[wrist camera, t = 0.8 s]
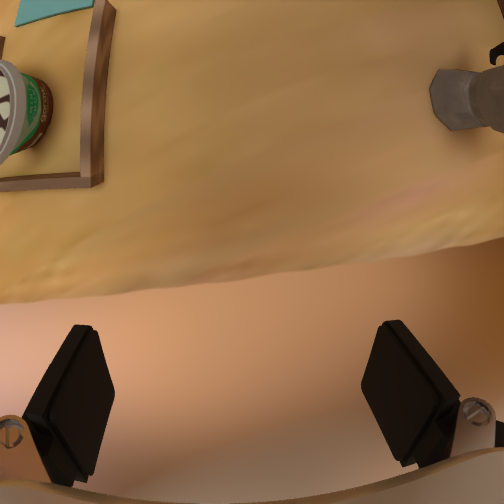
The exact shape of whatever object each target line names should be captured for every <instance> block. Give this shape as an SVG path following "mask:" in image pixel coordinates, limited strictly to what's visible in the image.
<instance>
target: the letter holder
mask: <svg viewBox="0 0 504 504" xmlns="http://www.w3.org/2000/svg"><path fill="white" fill-rule="evenodd" d="M497 1H498V3H499V6H500V9H501V12H502V15H503V18H504V0H497Z"/></svg>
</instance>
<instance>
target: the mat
mask: <svg viewBox="0 0 504 504" xmlns="http://www.w3.org/2000/svg"><path fill="white" fill-rule="evenodd" d="M94 1H95V0H21V2H20V5H19V9H18V13H17V18H16V22H15V27H19V26H22V25H25V24H28V23H31V22H34V21H38V20H41V19H44V18H48V17H52V16H55V15H59V14H63V13H68V12H72V11H76V10H81V9H86V8H91V7H93V6H94Z"/></svg>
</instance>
